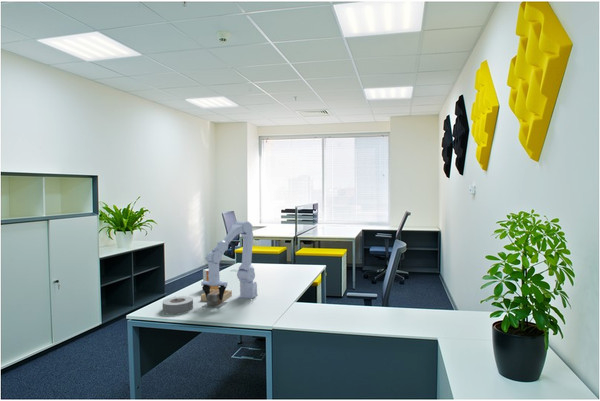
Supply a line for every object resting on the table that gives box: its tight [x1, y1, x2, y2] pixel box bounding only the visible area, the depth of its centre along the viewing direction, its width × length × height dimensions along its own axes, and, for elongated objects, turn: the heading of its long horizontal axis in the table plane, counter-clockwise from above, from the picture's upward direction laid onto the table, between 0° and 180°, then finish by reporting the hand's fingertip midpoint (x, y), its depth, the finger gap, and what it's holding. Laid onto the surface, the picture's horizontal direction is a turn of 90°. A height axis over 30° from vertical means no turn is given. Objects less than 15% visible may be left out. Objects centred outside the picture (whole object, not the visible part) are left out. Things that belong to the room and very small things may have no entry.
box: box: [206, 291, 224, 307], centre depth 205 cm, size 5×8×6 cm, turn 165°
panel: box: [201, 301, 228, 309], centre depth 204 cm, size 10×10×1 cm
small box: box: [202, 268, 220, 290], centre depth 238 cm, size 8×6×13 cm
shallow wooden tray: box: [200, 289, 233, 302], centre depth 217 cm, size 13×12×4 cm
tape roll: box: [162, 295, 194, 315], centre depth 199 cm, size 15×15×5 cm
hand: (214, 299), depth 204 cm, fingers open, 7 cm apart
